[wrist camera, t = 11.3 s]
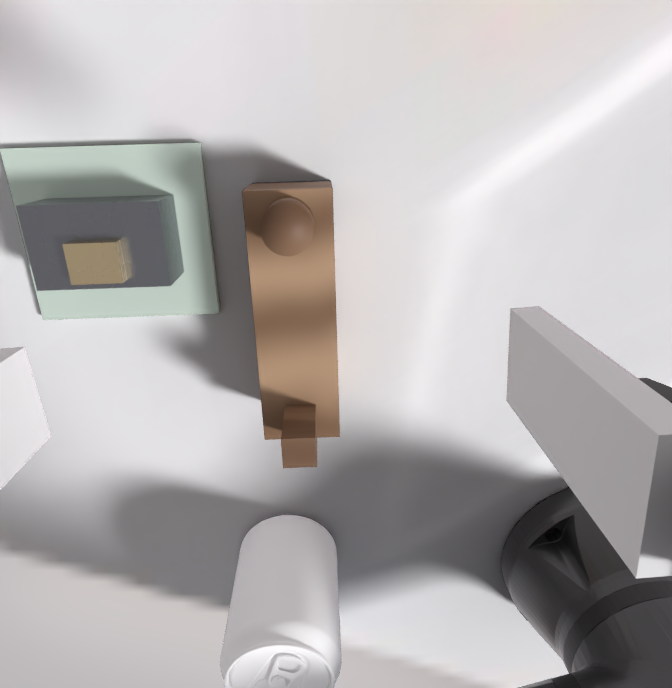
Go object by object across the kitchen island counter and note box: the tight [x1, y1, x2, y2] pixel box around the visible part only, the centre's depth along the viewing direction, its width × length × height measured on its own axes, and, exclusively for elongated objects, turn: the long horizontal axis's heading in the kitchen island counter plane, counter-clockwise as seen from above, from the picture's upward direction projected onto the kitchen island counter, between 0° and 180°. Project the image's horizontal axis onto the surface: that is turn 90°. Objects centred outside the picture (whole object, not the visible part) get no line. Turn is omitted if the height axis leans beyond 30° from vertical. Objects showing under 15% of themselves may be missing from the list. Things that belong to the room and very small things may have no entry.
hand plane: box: [242, 180, 340, 468], centre depth 32 cm, size 16×5×9 cm, turn 2°
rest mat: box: [0, 143, 220, 320], centre depth 34 cm, size 11×12×1 cm
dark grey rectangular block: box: [16, 194, 184, 291], centre depth 32 cm, size 5×8×4 cm, turn 92°
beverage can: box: [220, 515, 341, 688], centre depth 39 cm, size 8×8×12 cm
